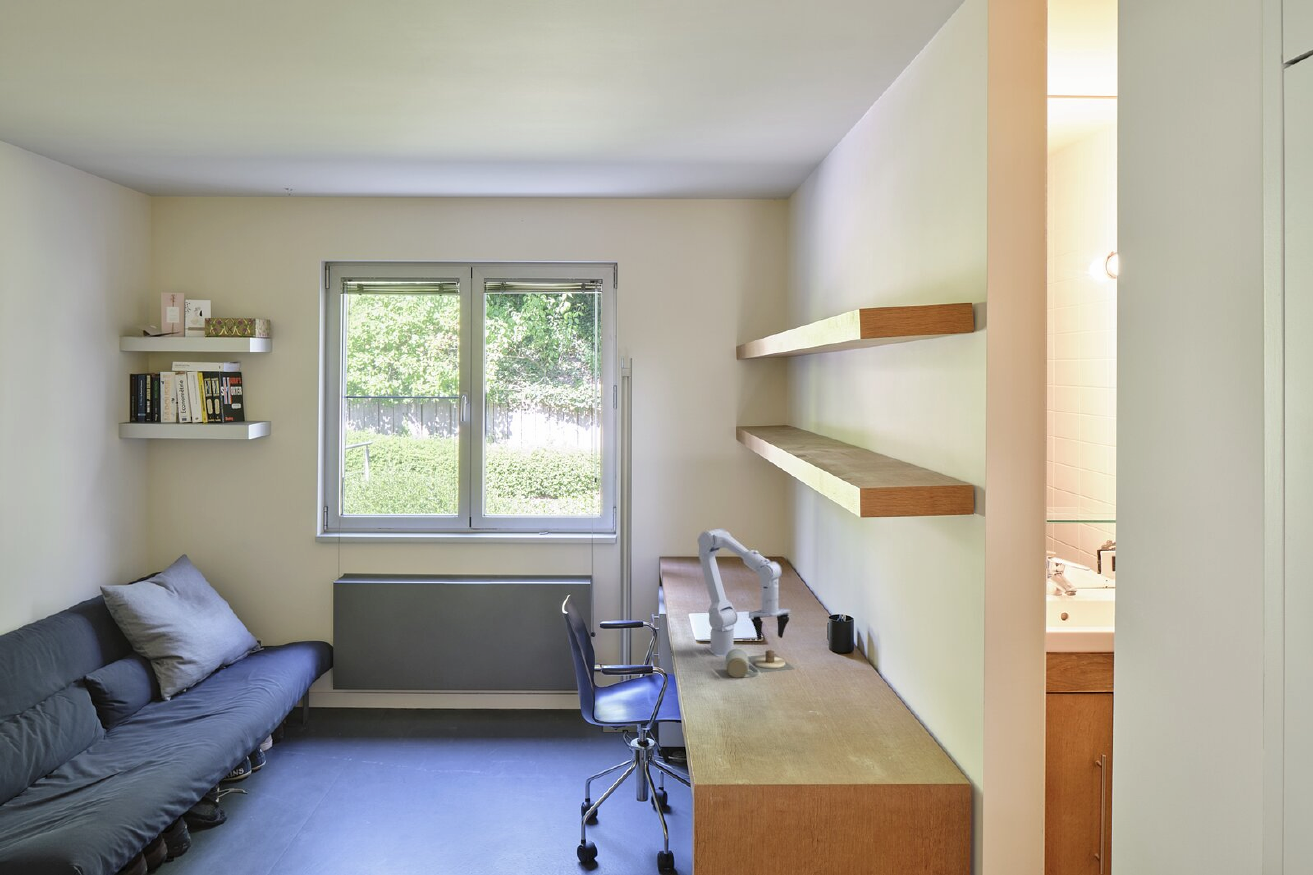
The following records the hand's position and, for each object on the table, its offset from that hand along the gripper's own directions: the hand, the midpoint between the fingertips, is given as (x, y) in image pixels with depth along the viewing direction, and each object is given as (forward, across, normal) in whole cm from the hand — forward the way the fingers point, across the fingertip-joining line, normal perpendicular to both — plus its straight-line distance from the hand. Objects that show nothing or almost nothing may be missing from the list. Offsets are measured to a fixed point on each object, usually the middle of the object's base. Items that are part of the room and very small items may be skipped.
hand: (769, 637), depth 277 cm
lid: (+9, 0, 0) cm, 9 cm away
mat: (+9, 0, +1) cm, 9 cm away
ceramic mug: (+10, -13, -6) cm, 17 cm away
